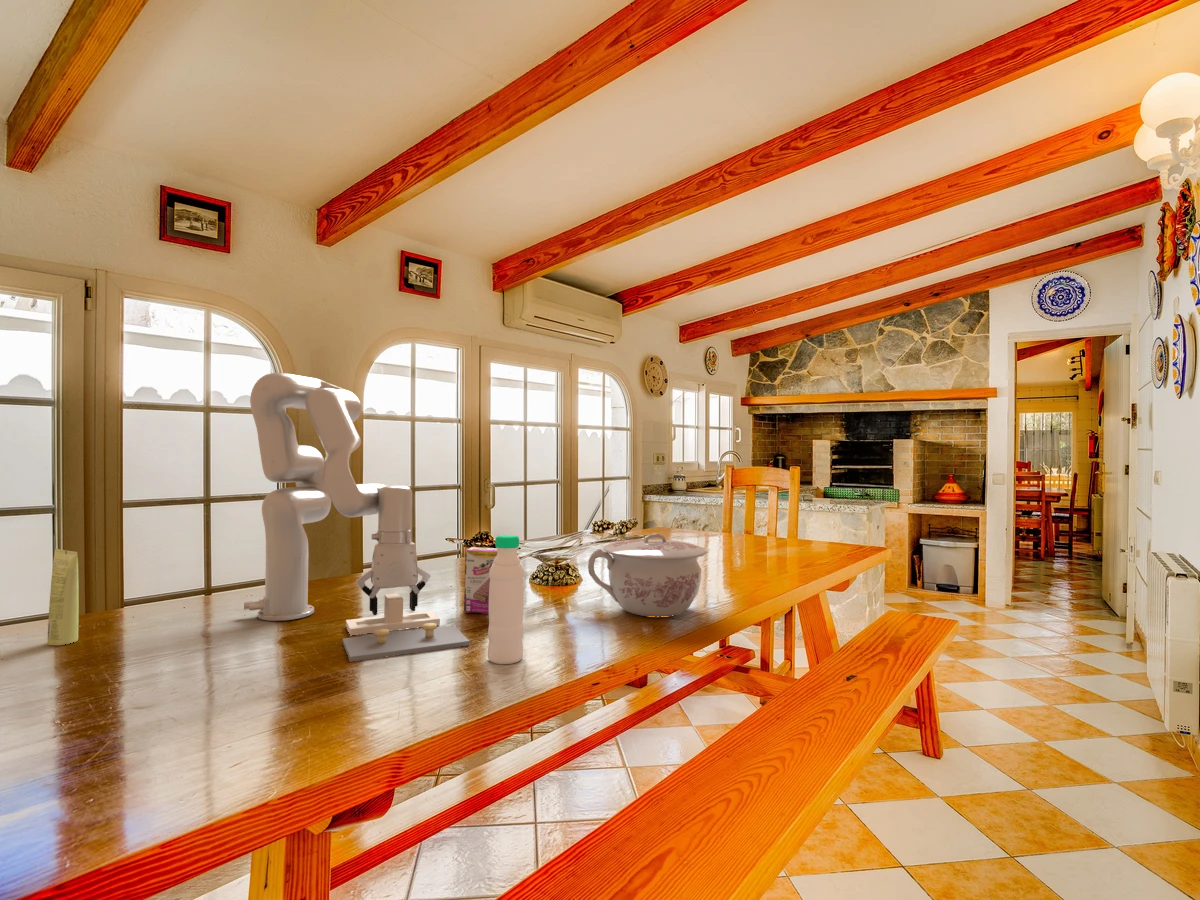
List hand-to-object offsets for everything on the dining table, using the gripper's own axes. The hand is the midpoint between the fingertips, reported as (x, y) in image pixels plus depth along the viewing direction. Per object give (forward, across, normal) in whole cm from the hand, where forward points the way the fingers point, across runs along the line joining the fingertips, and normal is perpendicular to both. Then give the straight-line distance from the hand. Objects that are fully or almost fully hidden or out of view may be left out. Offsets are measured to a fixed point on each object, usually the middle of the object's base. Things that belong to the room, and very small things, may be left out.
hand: (393, 611), depth 147 cm
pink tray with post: (+3, 0, 0) cm, 3 cm away
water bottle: (+4, +16, -33) cm, 37 cm away
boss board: (+3, 0, -15) cm, 15 cm away
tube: (+4, -64, +16) cm, 66 cm away
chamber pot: (+4, +64, -14) cm, 66 cm away
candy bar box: (+4, +24, +3) cm, 24 cm away
